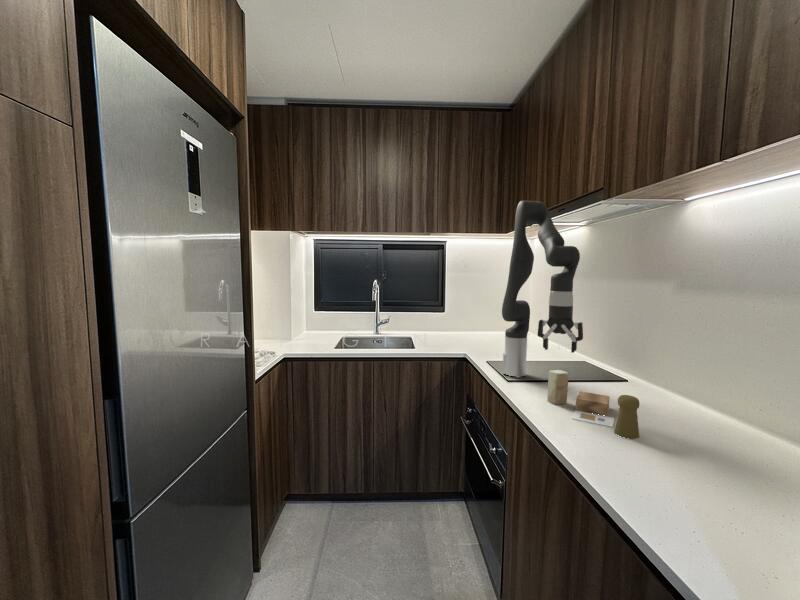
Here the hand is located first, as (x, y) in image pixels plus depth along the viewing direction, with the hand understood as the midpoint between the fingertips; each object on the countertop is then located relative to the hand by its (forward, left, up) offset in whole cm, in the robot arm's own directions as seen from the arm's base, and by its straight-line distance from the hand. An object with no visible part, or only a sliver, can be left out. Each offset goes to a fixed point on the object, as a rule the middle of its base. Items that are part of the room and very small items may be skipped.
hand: (559, 350), depth 125 cm
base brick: (+11, 0, -18) cm, 21 cm away
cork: (+21, -16, -19) cm, 32 cm away
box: (0, 0, -19) cm, 19 cm away
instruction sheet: (+12, -9, -18) cm, 24 cm away
